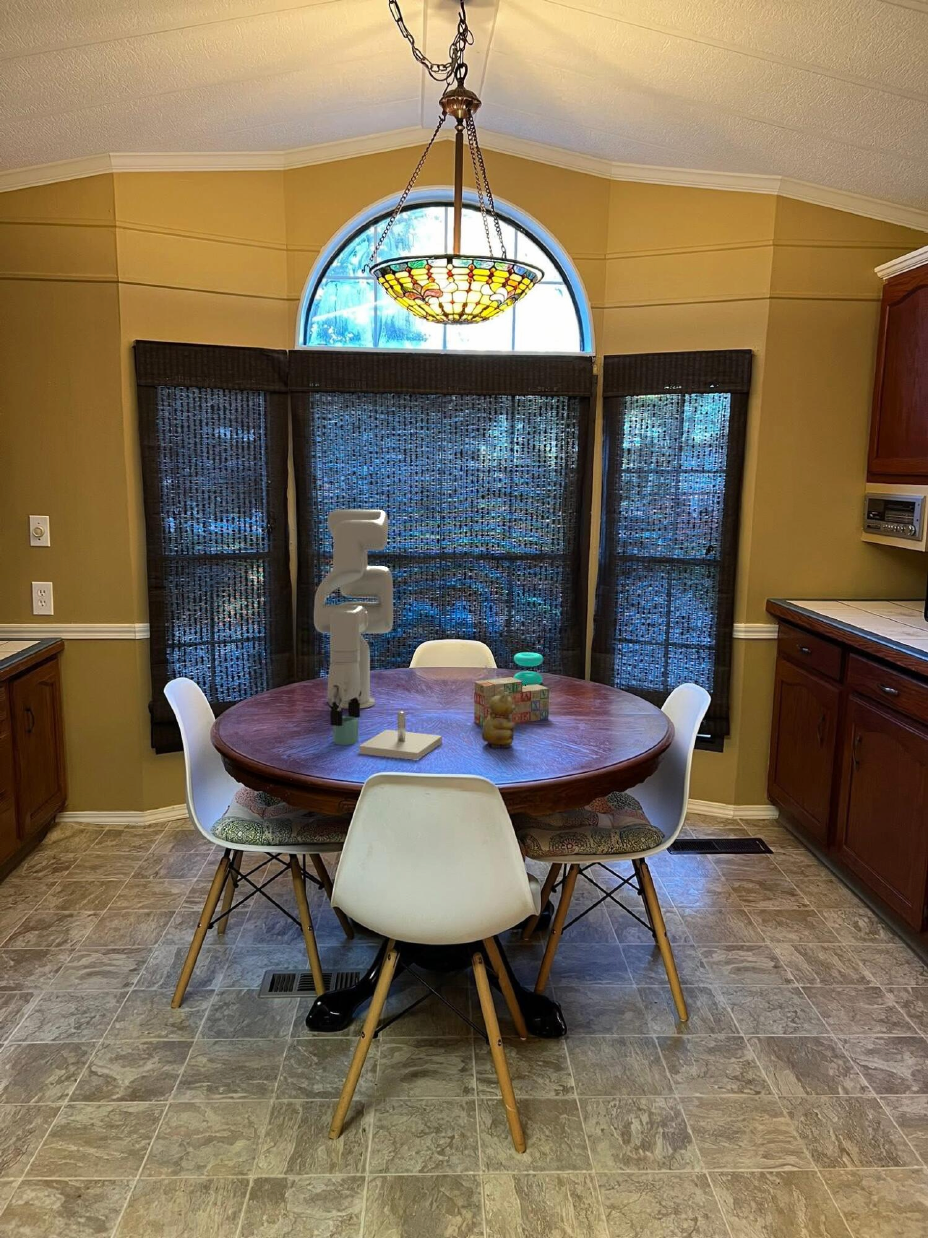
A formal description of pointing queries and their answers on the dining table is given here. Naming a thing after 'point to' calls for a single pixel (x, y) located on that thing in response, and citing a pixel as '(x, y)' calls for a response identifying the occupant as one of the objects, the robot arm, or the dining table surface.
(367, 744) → the board
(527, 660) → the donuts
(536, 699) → the stack of blocks
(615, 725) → the dining table surface
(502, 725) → the decorative figurine
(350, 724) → the bead
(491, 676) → the water lily
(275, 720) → the dining table surface
